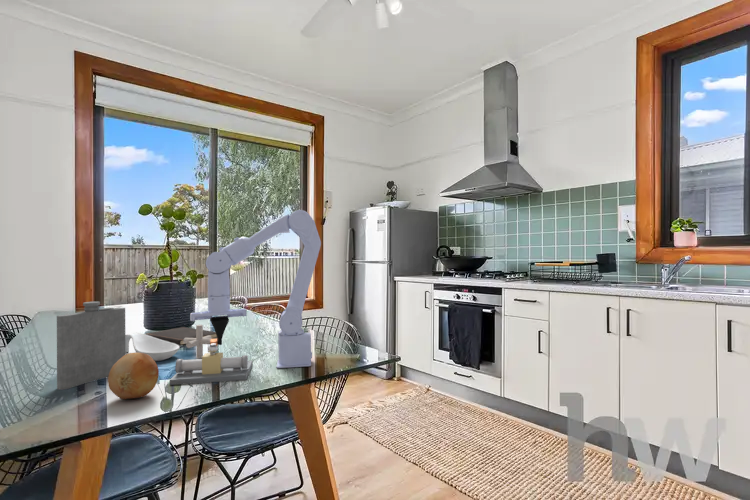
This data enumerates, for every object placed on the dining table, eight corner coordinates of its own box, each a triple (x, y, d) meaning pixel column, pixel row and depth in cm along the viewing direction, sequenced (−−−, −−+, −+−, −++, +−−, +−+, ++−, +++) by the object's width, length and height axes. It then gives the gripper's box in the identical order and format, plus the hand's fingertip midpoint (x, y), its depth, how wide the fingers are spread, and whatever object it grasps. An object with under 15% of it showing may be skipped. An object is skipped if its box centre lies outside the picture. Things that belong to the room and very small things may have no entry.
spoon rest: (187, 356, 126) (187, 334, 126) (153, 366, 115) (153, 341, 115) (136, 350, 135) (136, 329, 135) (101, 358, 125) (100, 335, 125)
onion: (103, 409, 83) (103, 361, 83) (113, 394, 92) (112, 350, 92) (156, 402, 87) (156, 355, 87) (160, 388, 96) (160, 346, 96)
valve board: (252, 364, 115) (252, 342, 115) (246, 379, 101) (246, 354, 101) (185, 368, 112) (185, 346, 112) (169, 384, 98) (169, 359, 98)
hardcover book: (183, 332, 167) (183, 327, 167) (218, 338, 155) (218, 332, 155) (144, 339, 153) (144, 333, 154) (179, 346, 141) (179, 340, 141)
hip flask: (61, 390, 95) (61, 306, 95) (52, 388, 97) (51, 305, 97) (128, 372, 109) (127, 298, 109) (119, 370, 111) (118, 298, 111)
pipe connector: (204, 362, 118) (203, 328, 118) (174, 361, 120) (174, 327, 120) (223, 354, 128) (223, 322, 128) (195, 352, 130) (195, 322, 130)
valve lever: (217, 352, 104) (217, 345, 104) (207, 353, 103) (207, 346, 103) (219, 343, 115) (219, 337, 115) (209, 343, 114) (209, 338, 114)
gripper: (242, 292, 119) (243, 338, 119) (189, 295, 112) (189, 344, 112) (248, 294, 113) (248, 343, 113) (191, 298, 105) (192, 349, 105)
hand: (219, 344), depth 112 cm, fingers closed, pressing on valve lever
